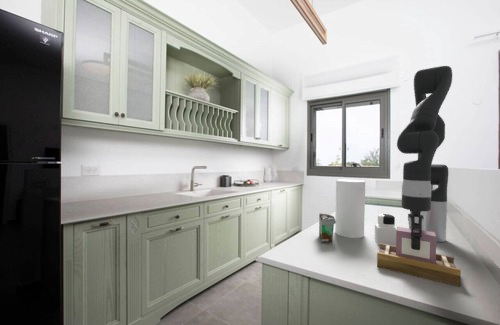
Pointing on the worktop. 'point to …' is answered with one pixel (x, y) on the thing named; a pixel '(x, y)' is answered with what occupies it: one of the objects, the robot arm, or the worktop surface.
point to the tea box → (426, 245)
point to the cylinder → (350, 208)
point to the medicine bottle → (385, 230)
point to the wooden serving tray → (419, 266)
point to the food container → (326, 227)
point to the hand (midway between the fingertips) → (414, 245)
